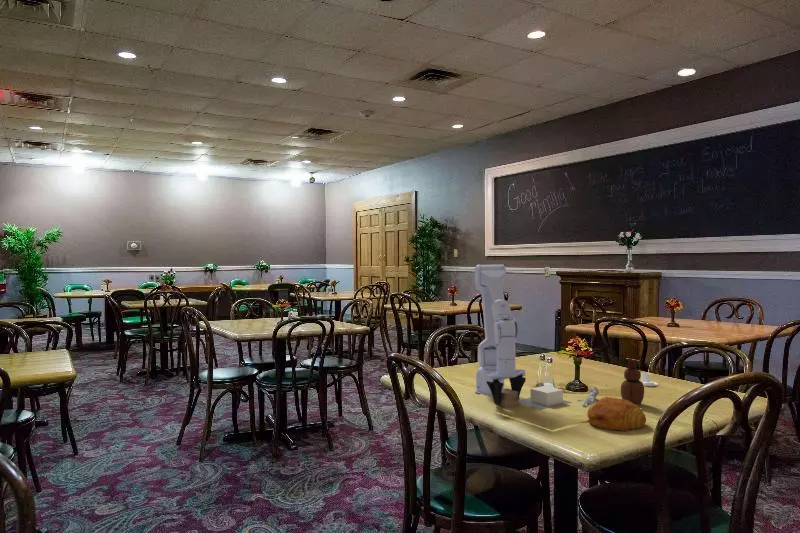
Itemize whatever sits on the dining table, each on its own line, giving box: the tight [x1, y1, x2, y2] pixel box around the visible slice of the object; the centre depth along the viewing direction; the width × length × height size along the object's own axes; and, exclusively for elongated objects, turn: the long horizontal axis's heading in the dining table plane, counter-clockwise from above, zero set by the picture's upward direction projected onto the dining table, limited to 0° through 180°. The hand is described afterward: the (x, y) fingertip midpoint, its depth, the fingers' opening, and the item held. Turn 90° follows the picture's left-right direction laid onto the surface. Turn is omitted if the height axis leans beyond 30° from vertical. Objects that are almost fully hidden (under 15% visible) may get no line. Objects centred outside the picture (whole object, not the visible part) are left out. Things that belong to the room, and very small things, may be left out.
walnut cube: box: [494, 388, 519, 409], centre depth 176 cm, size 5×5×5 cm
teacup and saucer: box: [640, 372, 659, 387], centre depth 204 cm, size 9×8×4 cm
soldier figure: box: [577, 386, 600, 408], centre depth 178 cm, size 8×5×12 cm
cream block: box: [530, 385, 564, 406], centre depth 179 cm, size 7×7×4 cm
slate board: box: [518, 396, 573, 411], centre depth 179 cm, size 12×14×1 cm
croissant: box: [586, 396, 647, 432], centre depth 157 cm, size 14×16×8 cm
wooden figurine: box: [620, 356, 645, 406], centre depth 177 cm, size 7×6×15 cm
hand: (506, 401), depth 176 cm, fingers open, 7 cm apart
